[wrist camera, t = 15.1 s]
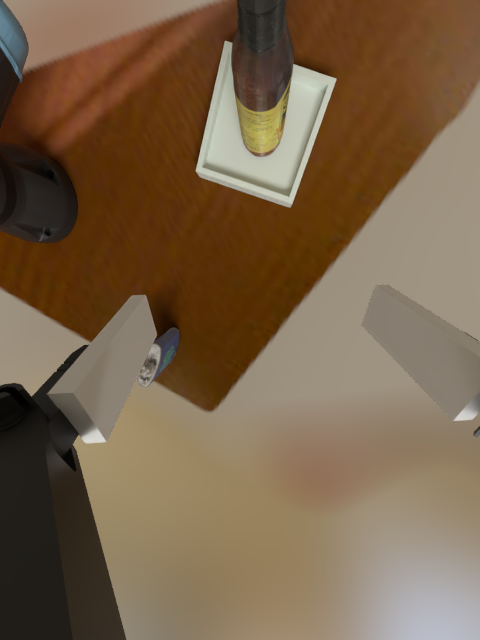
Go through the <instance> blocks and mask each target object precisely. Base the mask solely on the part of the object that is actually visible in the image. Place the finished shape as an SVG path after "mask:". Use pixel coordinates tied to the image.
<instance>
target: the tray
mask: <svg viewBox="0 0 480 640" xmlns="http://www.w3.org/2000/svg"><path fill="white" fill-rule="evenodd" d="M231 51H232V43H231V42H228V41H225V43H224V47H223V52H222V56H221V61H220V65H219V70H218V74H217V79H216V83H215V88H214V92H213V97H212V101H211V105H210V110H209V114H208V119H207V123H206V128H205V132H204V137H203V141H202V146H201V150H200V155H199V159H198V164H197V168H196V172H197V174H198V175H199V176H200V177H201V178H204V179H207V180H210V181H213V182H216V183H219V184H222V185H225V186H227V187H230V188H233V189H236V190H239V191H242V192H245V193H248V194H251V195H254V196H257V197H260V198H263V199H266V200H269V201H272V202H274V203H277V204H280V205H283V206H286V207H289V208H290V207H291V205H292V203H293V200H294V198H295V195H296V192H297V189H298V186H299V183H300V181H301V178H302V175H303V172H304V169H305V167H306V164H307V161H308V158H309V155H310V152H311V150H312V147H313V144H314V141H315V138H316V136H317V133H318V130H319V127H320V124H321V121H322V119H323V116H324V113H325V110H326V107H327V105H328V102H329V99H330V96H331V93H332V90H333V88H334V85H335V82H336V79H335V78H332V77H329V76H327V75H324V74H321V73H318V72H315V71H312V70H309V69H306V68H303V67H300V66H298V65H295V64H293V73H292V78H291V85H290V93H289V99H288V105H287V112H286V118H285V124H284V131H283V135H282V138H281V141H280V144H279V145H278V147H277V148H276V150H275V151H274V152H273V153H271V154H270V155H268V156H265V157H257V156H254V155H253V154H251V153H250V152H249V151H248V150H247V149H246V147H245V145H244V143H243V139H242V136H241V129H240V123H239V117H238V111H237V105H236V98H235V92H234V86H233V73H232V66H231Z"/></svg>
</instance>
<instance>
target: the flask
mask: <svg viewBox="0 0 480 640" xmlns="http://www.w3.org/2000/svg"><path fill="white" fill-rule="evenodd" d="M179 338H180V332H179V330H178V329H176V328H174V327H173V328H170V329H169V330H168V331H167V332H166V333H164V334H163V335H162V336H161V337H159V338H158V339H156V340H155V341H154V342H153V345H152V347H151V349H150V351H149V353H148V355H147V358H146V362H145V366H142V368H141V370H142V369H143V370H142V372H141V374H140V376H139V377H138V382H139V384H140V385H141V386H143V387H147V386H149V385H150V384H151V383H152V382H153V380H154V379H155V378H156V377H157V376H158V375H159V374H160V373H161V372H162V371H163V370H164V368H165V367H166V366H167V365H169V364H170V362H171V361H172V360H173V358H174V356H175V354H176V351H177V347H178V343H179Z"/></svg>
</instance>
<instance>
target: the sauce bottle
mask: <svg viewBox="0 0 480 640" xmlns="http://www.w3.org/2000/svg"><path fill="white" fill-rule="evenodd" d="M286 1H287V0H237V4H238V15H239V17H238V28H237V30H236V33H235V35H234V38H233V43H232V51H231V66H232V73H233V86H234V92H235V98H236V105H237V111H238V117H239V123H240V129H241V136H242V139H243V143H244V145H245V147H246V149H247V150H248V151H249V152H250V153H251V154H253V155H254V156H257V157H265V156H268V155H270V154H271V153H273V152H274V151H275V150H276V148H277V147H278V145H279V144H280V141H281V138H282V135H283V131H284V124H285V118H286V112H287V105H288V99H289V93H290V85H291V78H292V73H293V64H294V52H293V46H292V43H291V39H290V35H289V31H288V27H287V22H286V10H285V9H286Z"/></svg>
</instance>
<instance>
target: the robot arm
mask: <svg viewBox="0 0 480 640" xmlns="http://www.w3.org/2000/svg"><path fill="white" fill-rule="evenodd" d="M27 55H28V42H27V39H26V36H25V33H24V31H23V28H22V27H21V25H20V23H19V22H18V20H17V19H16V17H15V16H14V15H13V13H12V12H11V10H10V9H9V8H8V7H7V5H6V4H5V3H4V2H3V0H0V127H1V125H2V122H3V120H4V117H5V115H6V113H7V110H8V108H9V105H10V103H11V100H12V98H13V96H14V93H15V91H16V88H17V86H18V83H21V82H22V78H23V76H22V70H23V67H24V64H25V61H26V58H27ZM76 216H77V200H76V195H75V192H74V189H73V186H72V184H71V182H70V180H69V178H68V176H67V175H66V173H65V172H64V171H63V169H62V168H61V167H60V166H59V165H58V164H57V163H56V162H55V161H53V160H52V159H51V158H49V157H48V156H46V155H44V154H42V153H40V152H38V151H36V150H33V149H31V148H29V147H26V146H22V145H16V144H9V143H2V142H0V231H2V232H5V233H8V234H10V235H13V236H15V237H18V238H20V239H23V240H26V241H30V242H37V243H54V242H58V241H60V240H62V239H63V238H65V237H66V236H67V235H68V234H69V233H70V232H71V230H72V228H73V226H74V224H75V221H76ZM362 326H363V327H364V328H365V329H366V330H367V331H368V332H369V333H370V334H371V335H372V336H373V337H374V339H375V340H377V342H378V343H379V344H380V345H381V346H382V347H383V348H384V349H385V350H386V351H387V352H388V353H389V354H390V355H391V356H392V357H393V358H394V359H395V360H396V362H397V363H398V364H399V365H400V366H401V367H402V368H403V369H404V370H405V371H406V372H407V373H408V374H409V375H410V376H411V377H412V378H413V379H414V380H415V381H416V383H417V384H419V386H420V387H421V388H422V389H423V390H424V391H425V392H426V393H427V394H428V395H429V396H430V397H431V398H432V399H433V400H434V401H435V402H436V403H437V405H439V407H440V408H441V409H442V410H443V411H444V412H445V413H446V414H447V415H448V416H449V417H450V418H451V419H452V420H453V421H457V420H472V419H473V418H474V417H475V416H476V415H477V414H478V413H479V412H480V342H479V341H478V340H476V339H475V338H473V337H472V336H470V335H468V334H467V333H465V332H463V331H461V330H459V329H458V328H456V327H455V326H453V325H451V324H450V323H448V322H446V321H445V320H443V319H442V318H440V317H439V316H437V315H435V314H434V313H432V312H431V311H429V310H427V309H426V308H424V307H423V306H421V305H419V304H418V303H416V302H415V301H413V300H411V299H410V298H408V297H407V296H405V295H403V294H401V293H400V292H399V291H397V290H395V289H394V288H392V287H391V286H389V285H376V286H375V287H374V290H373V293H372V296H371V299H370V302H369V305H368V308H367V311H366V314H365V316H364V319H363V322H362ZM156 336H157V332H156V329H155V325H154V322H153V318H152V315H151V311H150V308H149V304H148V301H147V297H146V295H132V296H131V297H130V298H129V299H128V301H127V302H126V303H125V304H124V305H123V306H122V308H121V309H120V310H119V311H118V312H117V313H116V315H115V316H114V317H113V318H112V319H111V320H110V321H109V323H108V324H107V325H106V326H105V327H104V328H103V330H102V331H101V332H100V333H99V334H98V335H97V337H96V338H95V339H94V340H93V341H92V342H91V344H90V345H84V346H82V347H81V348H79V349H78V350H76V351H75V352H73V353H72V354H71V355H70V356H69V357H68V358H67V359H66V360H65V362H64V364H62V365H61V366H60V367H59V368H58V369H57V372H54V373H53V375H52V376H51V377H50V378H49V379H48V380H47V381H46V382H45V383H44V384H43V385H42V386H41V388H40V389H39V390H38V391H37V392H36V393H35V394H34V395H33V396H32V397H31V396H30V394H29V393H28V392H27V391H26V390H25V389H24V387H23V386H22V385H21V384H16V383H12V384H4V385H1V386H0V640H126V637H125V633H124V629H123V625H122V622H121V618H120V614H119V610H118V606H117V603H116V599H115V595H114V591H113V588H112V584H111V580H110V577H109V573H108V569H107V565H106V561H105V557H104V554H103V550H102V546H101V542H100V538H99V535H98V531H97V527H96V523H95V520H94V516H93V512H92V508H91V504H90V501H89V497H88V493H87V489H86V486H85V482H84V478H83V474H82V470H81V467H80V463H79V459H78V455H77V452H76V449H75V448H74V446H73V443H74V441H75V440H76V438H77V436H78V435H80V437H81V438H82V439H83V441H84V442H85V443H99V442H107V440H108V438H109V436H110V434H111V432H112V429H113V428H114V426H115V423H116V421H117V419H118V417H119V415H120V413H121V410H122V408H123V406H124V404H125V402H126V400H127V398H128V396H129V394H130V391H131V389H132V387H133V385H134V383H135V381H136V379H137V376H138V374H139V372H140V370H141V368H142V366H143V364H144V362H145V359H146V357H147V355H148V353H149V351H150V349H151V347H152V345H153V342H154V340H155V338H156ZM479 435H480V426H479V427H478V428H477V429H476V430H475V431H474V434H473V436H475V437H478V436H479Z"/></svg>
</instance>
